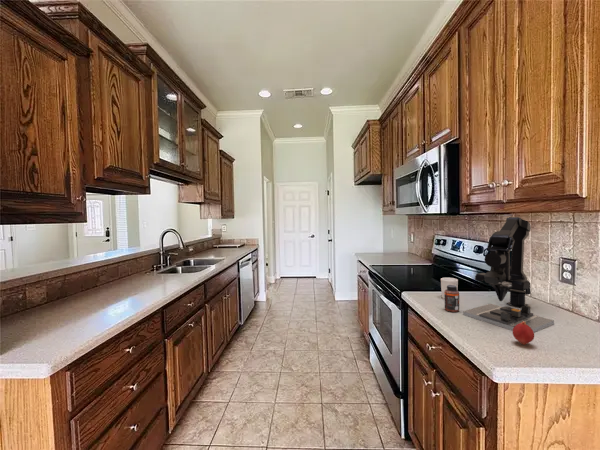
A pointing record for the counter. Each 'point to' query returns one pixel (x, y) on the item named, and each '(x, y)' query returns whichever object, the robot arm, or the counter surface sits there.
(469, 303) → the counter surface
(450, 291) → the supplement bottle
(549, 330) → the counter surface
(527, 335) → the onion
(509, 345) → the counter surface
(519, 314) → the block
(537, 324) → the breaker panel
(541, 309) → the counter surface
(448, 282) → the white cup
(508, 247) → the robot arm
